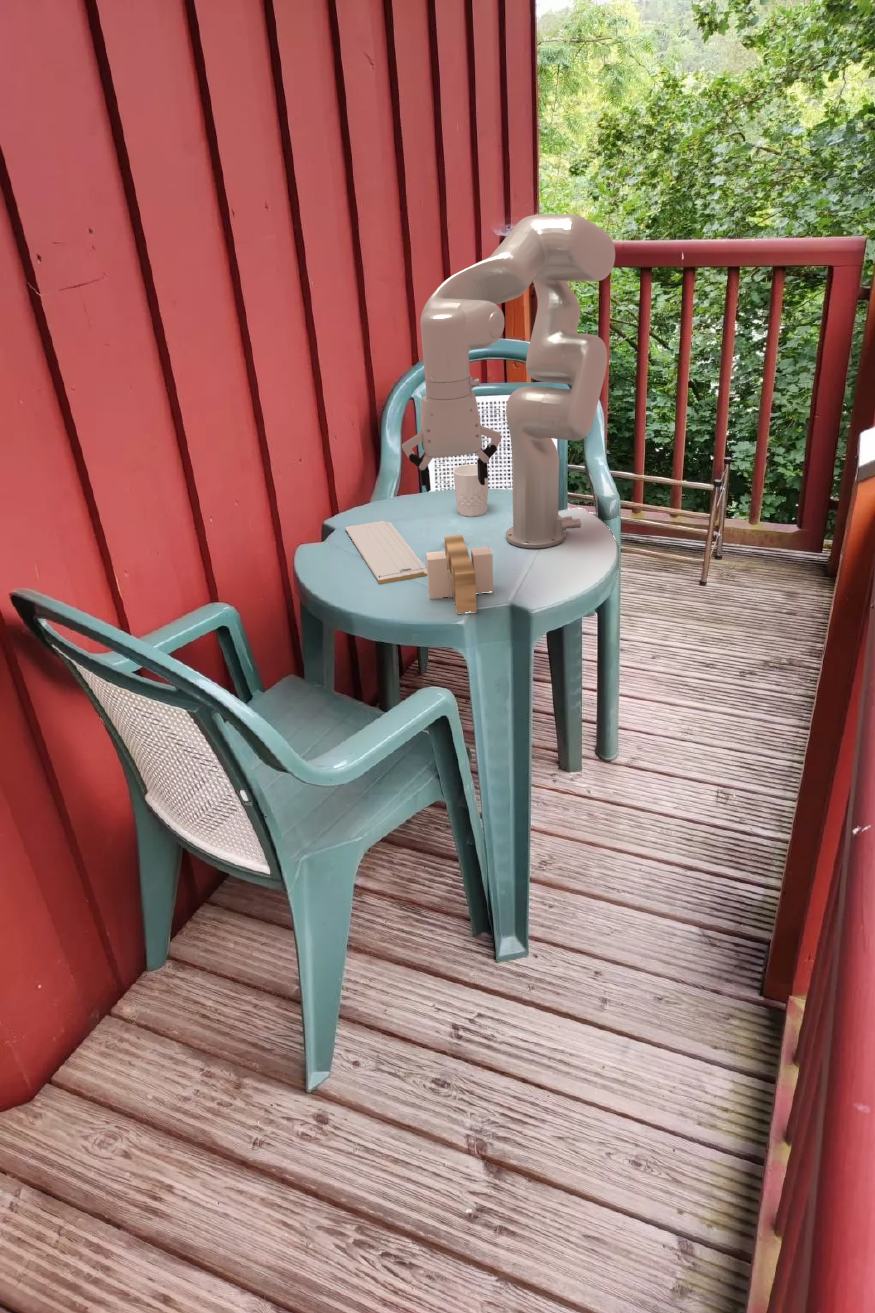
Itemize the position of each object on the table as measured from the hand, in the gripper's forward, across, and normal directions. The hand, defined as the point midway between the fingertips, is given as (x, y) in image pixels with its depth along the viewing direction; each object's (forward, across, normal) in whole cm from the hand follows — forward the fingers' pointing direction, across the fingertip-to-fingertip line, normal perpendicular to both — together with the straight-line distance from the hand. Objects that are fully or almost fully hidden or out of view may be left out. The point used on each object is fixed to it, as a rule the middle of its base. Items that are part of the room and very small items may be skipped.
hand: (454, 485), depth 159 cm
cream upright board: (+22, 0, -1) cm, 22 cm away
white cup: (+23, -9, -43) cm, 49 cm away
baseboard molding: (+23, +12, -24) cm, 35 cm away
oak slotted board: (+22, 0, -1) cm, 22 cm away
